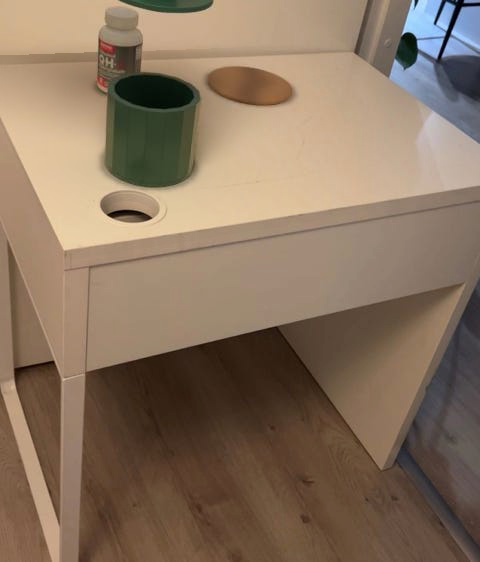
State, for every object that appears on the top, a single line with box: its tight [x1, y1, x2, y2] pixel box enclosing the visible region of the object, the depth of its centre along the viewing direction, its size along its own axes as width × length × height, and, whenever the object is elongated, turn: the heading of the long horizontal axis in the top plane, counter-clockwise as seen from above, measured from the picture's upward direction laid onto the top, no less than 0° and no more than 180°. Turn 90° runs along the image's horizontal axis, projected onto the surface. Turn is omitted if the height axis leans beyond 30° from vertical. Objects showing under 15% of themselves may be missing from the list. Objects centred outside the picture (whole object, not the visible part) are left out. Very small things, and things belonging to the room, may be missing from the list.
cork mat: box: [207, 65, 293, 106], centre depth 100 cm, size 12×12×1 cm
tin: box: [104, 71, 202, 188], centre depth 77 cm, size 9×9×8 cm
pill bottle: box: [96, 5, 144, 94], centre depth 91 cm, size 5×5×10 cm
